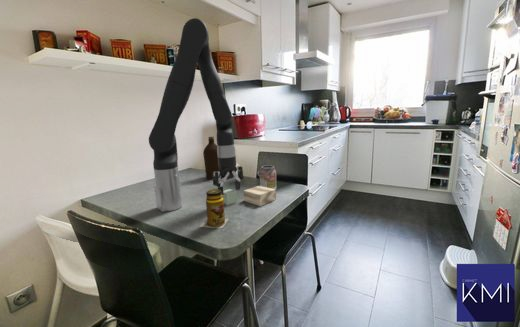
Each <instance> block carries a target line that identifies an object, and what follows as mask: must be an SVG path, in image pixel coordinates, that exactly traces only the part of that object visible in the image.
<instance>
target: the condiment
mask: <svg viewBox="0 0 520 327" xmlns="http://www.w3.org/2000/svg"><path fill="white" fill-rule="evenodd" d="M205 193H206V199H205V206H206V218H205V219H204V220H203V222H202V223H201V224H200V225H199V226H198V228H211V229H223V228H224V227H225V226H226V224H227V223H228V220H229V218H225V217H226V216H225V215H226V214H225V204H224V200H223V198H222V191H221V190H218V188H217V189H215V188H214V189H209V190H208V191H206V192H205Z"/></svg>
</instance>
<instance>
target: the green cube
mask: <svg viewBox="0 0 520 327" xmlns="http://www.w3.org/2000/svg"><path fill="white" fill-rule="evenodd" d="M237 191H238V190H234V189H231V188H228V189H225V190H223V193H224V194H223V195H222V198H223V200H224V205H226V206H229V205H233V204H236V203H238V196H237V195H238V193H237Z"/></svg>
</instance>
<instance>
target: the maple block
mask: <svg viewBox="0 0 520 327" xmlns="http://www.w3.org/2000/svg"><path fill="white" fill-rule="evenodd" d="M276 194H277V188H276V189H272V188H268V187H264V186H260V184H259V185H256V186H253V187H250V188H248V189H244V190H243V201H244V202H246V203H250V204H253V205H257V206H259V207H261V206H264V205H267V204H269V203H271V202H273V201H276V200H277V195H276Z"/></svg>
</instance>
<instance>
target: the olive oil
mask: <svg viewBox="0 0 520 327" xmlns="http://www.w3.org/2000/svg"><path fill="white" fill-rule="evenodd" d="M217 146H218V145H217V143H215V137H214V136H208V144H207V145H206V146H204V149H203V152H202V154H203V159H204V160H203V161H204V168H205V169H204V170H205V178H206V179H207V178H208V179H207V180H213V171H215V172H218V171H219V165H218V154H217ZM220 176H221V175H220V174H219V177H218V179H219V178H220Z"/></svg>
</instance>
